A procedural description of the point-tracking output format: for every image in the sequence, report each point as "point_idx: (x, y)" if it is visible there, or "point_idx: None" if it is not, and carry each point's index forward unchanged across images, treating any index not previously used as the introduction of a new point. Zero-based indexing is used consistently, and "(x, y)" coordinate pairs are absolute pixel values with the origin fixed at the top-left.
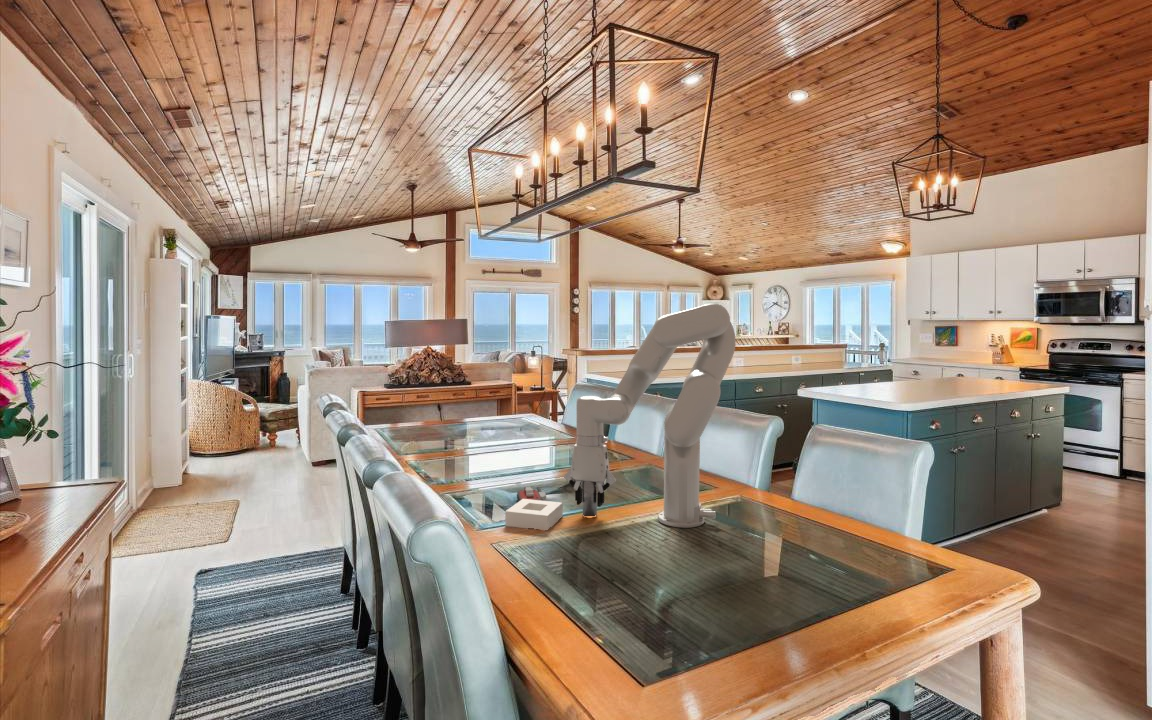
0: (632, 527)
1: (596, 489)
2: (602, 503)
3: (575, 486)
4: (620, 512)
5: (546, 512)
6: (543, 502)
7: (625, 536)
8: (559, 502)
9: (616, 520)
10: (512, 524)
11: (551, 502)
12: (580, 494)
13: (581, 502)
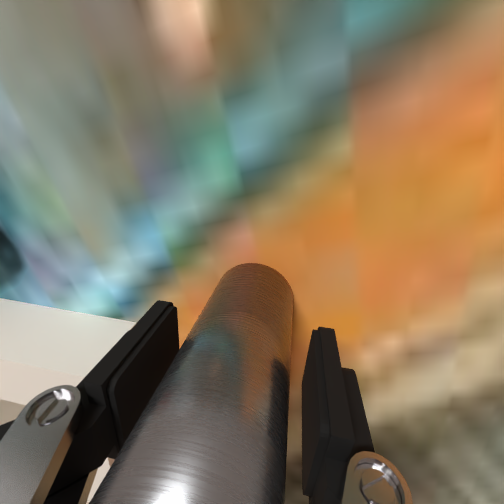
0: (494, 421)
1: (284, 495)
2: (333, 333)
3: (56, 496)
4: (451, 201)
5: (98, 485)
6: (2, 380)
7: (441, 492)
8: (70, 376)
9: (411, 343)
10: None
11: (34, 378)
12: (144, 393)
13: (177, 319)
